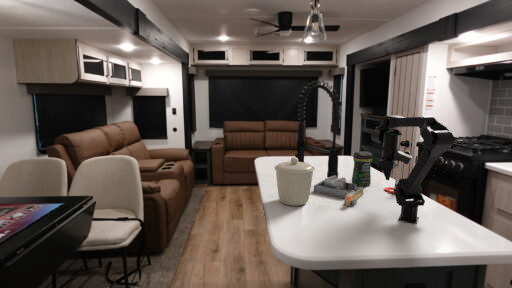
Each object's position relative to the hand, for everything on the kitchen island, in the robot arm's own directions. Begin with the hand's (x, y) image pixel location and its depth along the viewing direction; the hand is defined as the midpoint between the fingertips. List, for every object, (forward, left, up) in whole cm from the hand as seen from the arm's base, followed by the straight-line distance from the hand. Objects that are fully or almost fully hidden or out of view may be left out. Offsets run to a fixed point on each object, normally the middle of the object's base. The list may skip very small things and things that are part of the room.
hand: (387, 180), depth 124 cm
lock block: (+7, +26, -12) cm, 30 cm away
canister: (-20, +36, -12) cm, 42 cm away
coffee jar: (+26, +19, -12) cm, 35 cm away
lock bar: (0, +14, -12) cm, 18 cm away
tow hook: (+24, +2, -12) cm, 27 cm away
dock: (+3, +23, -12) cm, 26 cm away
